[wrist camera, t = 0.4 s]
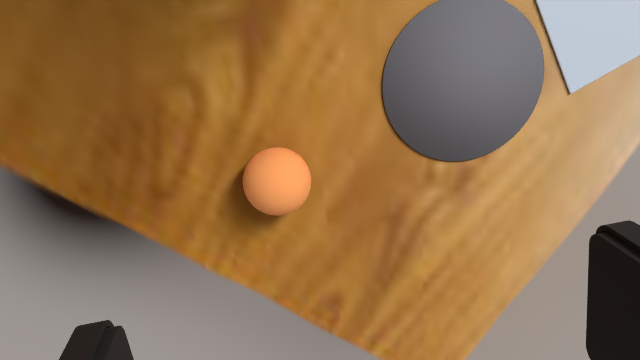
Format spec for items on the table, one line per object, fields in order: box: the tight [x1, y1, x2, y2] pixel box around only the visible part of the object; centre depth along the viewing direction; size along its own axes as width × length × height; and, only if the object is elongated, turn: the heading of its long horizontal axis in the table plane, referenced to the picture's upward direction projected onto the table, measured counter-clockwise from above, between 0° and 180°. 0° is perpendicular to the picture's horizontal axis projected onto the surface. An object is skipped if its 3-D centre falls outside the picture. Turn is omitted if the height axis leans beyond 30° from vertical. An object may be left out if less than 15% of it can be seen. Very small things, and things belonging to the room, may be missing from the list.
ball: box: [243, 147, 311, 215], centre depth 43 cm, size 6×6×6 cm
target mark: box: [382, 0, 544, 161], centre depth 45 cm, size 14×14×1 cm
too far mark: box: [535, 0, 640, 94], centre depth 45 cm, size 9×9×1 cm
